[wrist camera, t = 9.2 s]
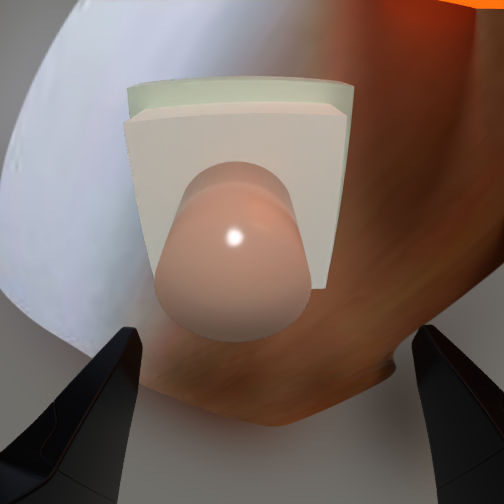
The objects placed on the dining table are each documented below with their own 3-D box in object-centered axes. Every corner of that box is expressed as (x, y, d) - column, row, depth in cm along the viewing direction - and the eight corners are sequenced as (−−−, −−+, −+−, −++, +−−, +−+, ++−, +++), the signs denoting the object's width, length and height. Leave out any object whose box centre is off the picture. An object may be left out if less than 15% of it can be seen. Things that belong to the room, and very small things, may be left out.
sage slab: (338, 80, 16) (354, 86, 13) (320, 240, 22) (329, 267, 20) (145, 81, 16) (127, 88, 13) (164, 240, 22) (154, 267, 20)
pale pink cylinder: (296, 161, 13) (320, 224, 9) (289, 259, 16) (302, 340, 12) (174, 163, 13) (140, 226, 9) (186, 260, 16) (169, 340, 12)
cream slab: (329, 103, 14) (347, 116, 11) (316, 254, 19) (325, 288, 17) (144, 109, 14) (123, 123, 12) (167, 257, 19) (157, 290, 17)
